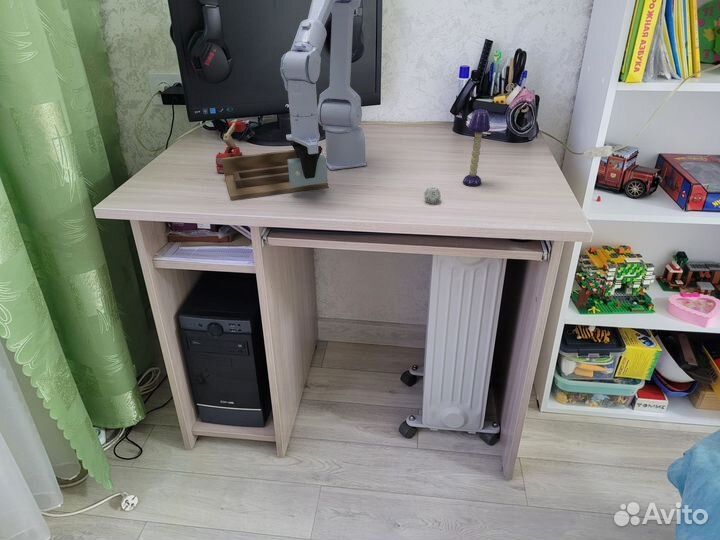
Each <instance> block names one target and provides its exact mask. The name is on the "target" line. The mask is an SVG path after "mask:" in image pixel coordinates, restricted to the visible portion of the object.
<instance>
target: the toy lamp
mask: <svg viewBox="0 0 720 540" xmlns="http://www.w3.org/2000/svg"><path fill="white" fill-rule="evenodd" d="M490 125H491V123H490V117H489V111H488V110H486V109H483V108H481V109H479V108H478V109H475V110H474V111H473V113H472V115H471V119H470V120H469V124H468V130H469V131H471V132H473V134H474V137H473V144H472V151H471V159H470V162H471V163H470V166H469V168H470V169H469V172H468V173H469V174H467V175H466V176H465V177H463V180H462V183H463V185H465V186H468V187H480V186H481V185H482V178H481V177H480V176H479V175H477V174H478V171H477V169H478V167H479V161H480V157H479V156H481V155H480V154H481V151H480V150H481V147H482V146H481V145H482V144H481V143H482V136H483V133H487V132H489V131H490V129H491V126H490Z"/></svg>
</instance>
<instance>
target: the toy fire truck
mask: <svg viewBox="0 0 720 540" xmlns="http://www.w3.org/2000/svg"><path fill="white" fill-rule="evenodd" d="M227 123H228V128H229V129H228V130H227V132H226V133H224V134H223V139H222V141H223V142H224V143H225V144H226V146H227V147H226V149H225V150H224V152H223V153H222V152H218V153H217V154H216V155H215V165H216V172H218V173H221V174H222V173H223V174H224V169H223V163H222V158H227V157H236V156H244V155H243V152H242V151H240V150H241V149H240V146H237V145H236V143H235V141H234V139H233V137H232V134H233V133H236V132H238V133H242V132H244V131H245V130H246V128H247V127H246V122H245V121H228V122H227Z"/></svg>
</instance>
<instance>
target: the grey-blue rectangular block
mask: <svg viewBox="0 0 720 540" xmlns="http://www.w3.org/2000/svg"><path fill="white" fill-rule="evenodd" d="M326 158H327V157H326V156H325V155H324V154H320V156H319V159H318V162H317V167H316V174H315V178H309V179H305V177H304V174H303V170H302V165H301V161H300V159H299V158H295V159H288V171H289V182H290V185H291V187H299V186H306V185H313V184H321V183H327V182H328V172H327V171H328V167H327V164H326Z"/></svg>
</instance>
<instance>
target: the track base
mask: <svg viewBox="0 0 720 540" xmlns="http://www.w3.org/2000/svg"><path fill="white" fill-rule="evenodd" d="M295 158H297V155H296V152H295V150H294V149H290V150H289V149H288V150H281V151H271V152H265V153H254V154H246V155H243V156H236V157H227V158H222V163H223V169H224V173H223V174H224V179H225V184H226V187H227V190H228V191H227V192H228V195H229V199H230V201H231V200H232V201H238V199H240V200H246V198H247V199H253V198H259V197H261V198H262V197H269V196H274V195H275V196H276V195H282V194H291V193H296V192H297V193H298V192H299V193H300V192H306V191H313V190H320V189H326V188H327V189H329V187H330V186H329V182H328V181H327V183H321V184H313V185H306V186H299V187H291V185H290V182H289V171H288V159H295Z"/></svg>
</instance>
